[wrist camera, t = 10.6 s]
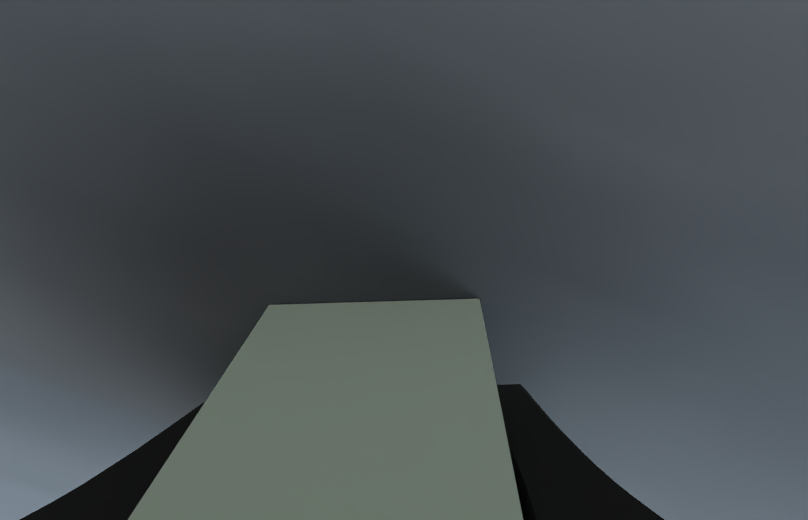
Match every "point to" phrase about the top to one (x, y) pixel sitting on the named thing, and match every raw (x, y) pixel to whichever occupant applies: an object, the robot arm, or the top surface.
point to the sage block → (348, 422)
